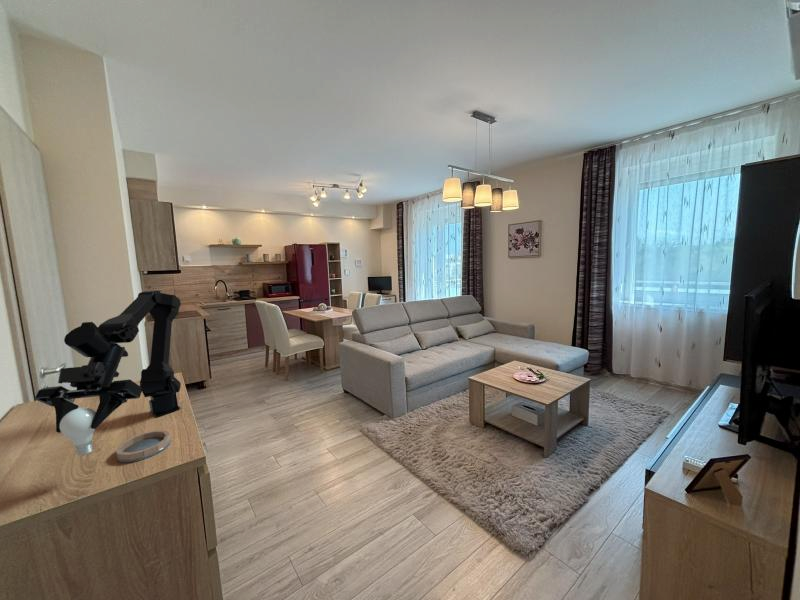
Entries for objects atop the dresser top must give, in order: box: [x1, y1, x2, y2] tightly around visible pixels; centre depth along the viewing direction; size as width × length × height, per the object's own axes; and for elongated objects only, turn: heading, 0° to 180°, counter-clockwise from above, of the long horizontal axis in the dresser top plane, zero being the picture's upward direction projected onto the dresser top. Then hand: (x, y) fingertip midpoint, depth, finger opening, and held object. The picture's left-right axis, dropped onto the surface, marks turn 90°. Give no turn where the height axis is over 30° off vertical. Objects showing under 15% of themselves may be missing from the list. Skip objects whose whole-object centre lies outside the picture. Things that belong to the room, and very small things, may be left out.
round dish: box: [115, 429, 172, 464], centre depth 84 cm, size 11×11×2 cm
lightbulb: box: [59, 407, 97, 456], centre depth 72 cm, size 6×6×11 cm
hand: (76, 430), depth 71 cm, fingers closed on lightbulb, 6 cm apart
